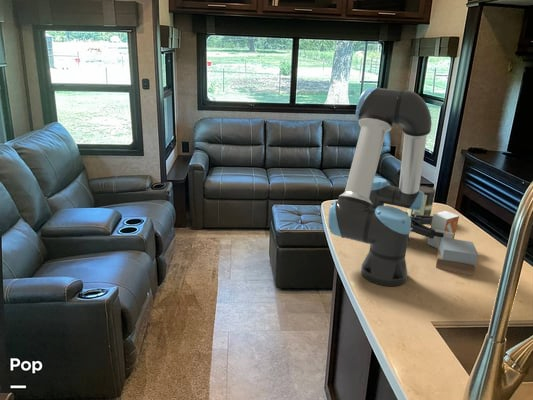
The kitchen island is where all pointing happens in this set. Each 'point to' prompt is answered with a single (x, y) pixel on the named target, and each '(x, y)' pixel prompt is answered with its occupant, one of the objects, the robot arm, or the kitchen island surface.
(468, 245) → the upper block
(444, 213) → the small box
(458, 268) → the lower block
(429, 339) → the kitchen island surface
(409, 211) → the coffee can
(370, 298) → the kitchen island surface
